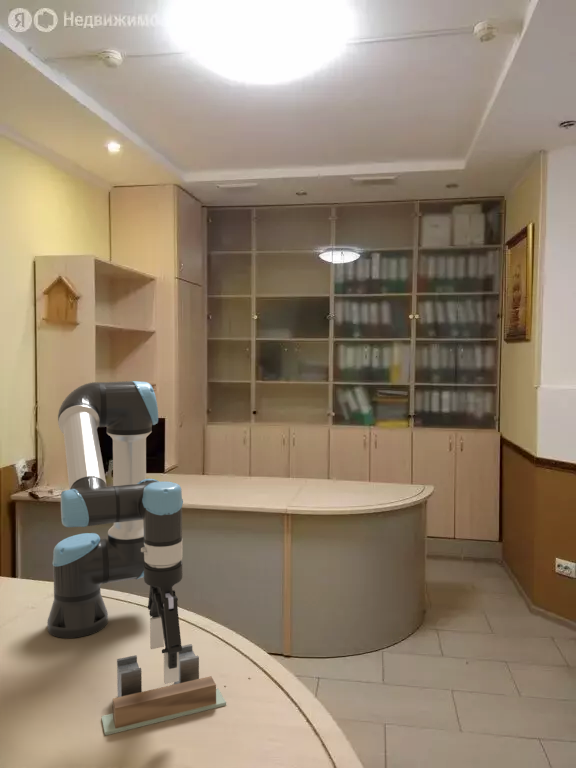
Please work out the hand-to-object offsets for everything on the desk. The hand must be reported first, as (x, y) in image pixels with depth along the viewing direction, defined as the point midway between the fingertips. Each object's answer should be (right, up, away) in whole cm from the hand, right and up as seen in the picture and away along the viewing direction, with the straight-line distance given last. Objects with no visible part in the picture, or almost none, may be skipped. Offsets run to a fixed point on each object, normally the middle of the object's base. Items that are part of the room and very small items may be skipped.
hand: (163, 663), depth 120 cm
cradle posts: (-2, -9, +6) cm, 11 cm away
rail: (0, -9, 0) cm, 9 cm away
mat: (0, -10, 0) cm, 10 cm away
